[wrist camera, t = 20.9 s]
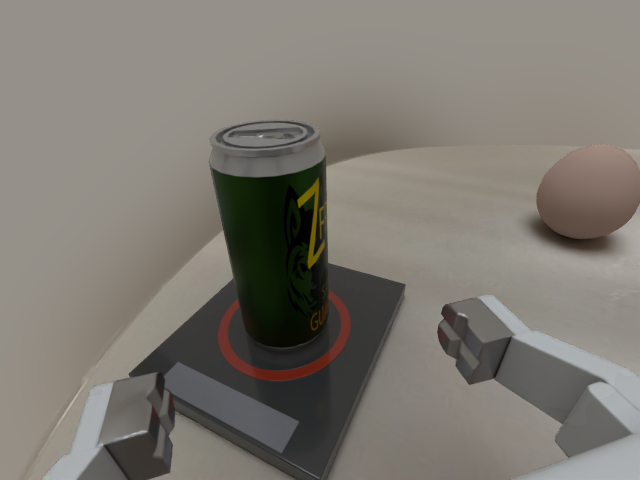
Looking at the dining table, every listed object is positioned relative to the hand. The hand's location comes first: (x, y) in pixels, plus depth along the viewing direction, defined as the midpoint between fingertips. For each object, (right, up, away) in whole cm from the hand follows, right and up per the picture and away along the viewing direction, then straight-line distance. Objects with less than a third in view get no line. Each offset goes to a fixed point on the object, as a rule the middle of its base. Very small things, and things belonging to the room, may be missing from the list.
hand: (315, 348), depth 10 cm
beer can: (-2, -2, +12) cm, 13 cm away
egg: (+24, +4, +22) cm, 33 cm away
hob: (-2, -3, +13) cm, 13 cm away
